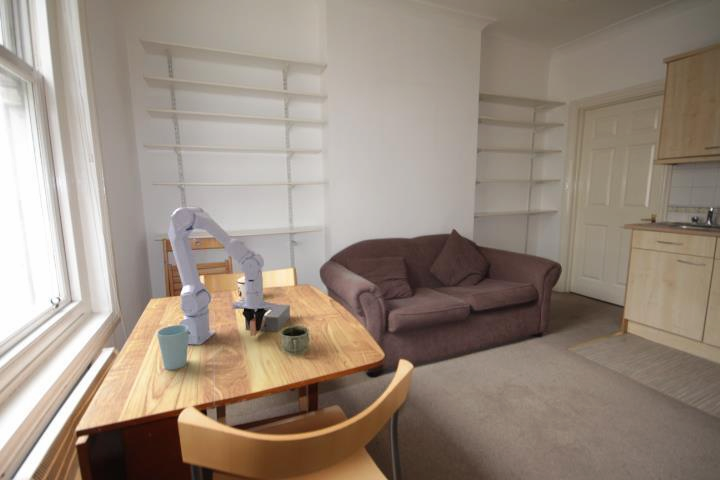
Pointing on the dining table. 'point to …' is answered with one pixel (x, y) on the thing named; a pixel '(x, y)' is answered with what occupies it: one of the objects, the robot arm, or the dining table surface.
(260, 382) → the dining table surface
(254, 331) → the cream pillar on pink
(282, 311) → the dispenser
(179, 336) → the cup
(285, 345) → the vessel
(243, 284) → the teacup with lid
